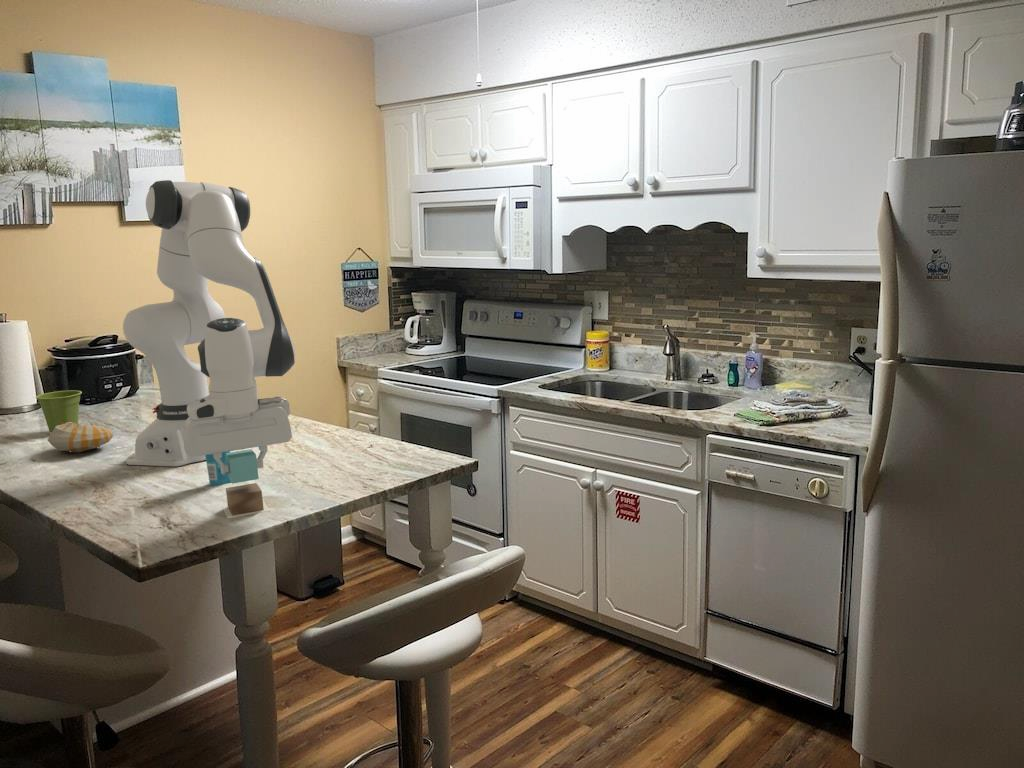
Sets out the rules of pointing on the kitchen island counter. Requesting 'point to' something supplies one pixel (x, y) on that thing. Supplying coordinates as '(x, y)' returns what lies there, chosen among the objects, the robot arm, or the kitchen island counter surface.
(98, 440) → the nautilus
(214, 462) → the tube
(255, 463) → the teal cube
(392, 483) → the kitchen island counter surface
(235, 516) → the slate mat
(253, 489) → the walnut block
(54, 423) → the plant pot
